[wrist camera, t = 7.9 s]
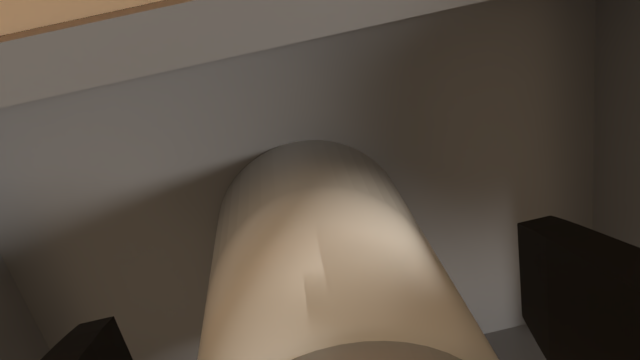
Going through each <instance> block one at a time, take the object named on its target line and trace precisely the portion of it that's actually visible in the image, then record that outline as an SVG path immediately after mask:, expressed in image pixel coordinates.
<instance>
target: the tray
mask: <svg viewBox="0 0 640 360" xmlns="http://www.w3.org/2000/svg"><path fill="white" fill-rule="evenodd" d="M306 140H324V141H331V142H337V143H340V144H344V145H347V146H350V147H352V148H355V149H357V150H359V151H361V152H362V153H364V154H366V155H367V156H369V157H370V158H371V159H373V160H374V161H375V162H376V163H378V164H379V165H380V166H381V168H382V169H383V170H384V171H385V172H386V173H387V175H388V176H389V178H390V179H391V180H392V182H393V184H394V185H395V187H396V189H397V190H398V192H399V194H400V195H401V197H402V199H403V200H404V202H405V204H406V205H407V207H408V209H409V210H410V212H411V214H412V215H413V217H414V219H415V220H416V222H417V224H418V225H419V227H420V229H421V230H422V232H423V234H424V235H425V237H426V239H427V240H428V242H429V244H430V245H431V247H432V249H433V250H434V252H435V254H436V255H437V257H438V259H439V260H440V262H441V264H442V265H443V267H444V269H445V270H446V272H447V274H448V275H449V277H450V279H451V280H452V282H453V284H454V285H455V287H456V289H457V290H458V292H459V294H460V295H461V297H462V299H463V300H464V302H465V304H466V305H467V307H468V309H469V310H470V312H471V314H472V315H473V317H474V319H475V320H476V322H477V324H478V325H479V327H480V329H481V330H482V332H483V334H484V335H485V337H486V339H487V340H488V342H489V344H490V345H491V347H492V349H493V350H494V352H495V354H496V355H497V357H498V359H499V360H546V358H545V356H544V355H543V353H542V351H541V350H540V348H539V346H538V344H537V343H536V341H535V339H534V337H533V335H532V333H531V332H530V330H529V328H528V326H527V324H526V322H525V321H524V319H523V317H522V306H521V287H520V268H519V249H518V230H517V223H520V222H524V221H529V220H533V219H537V218H542V217H546V216H550V215H551V216H555V217H558V218H561V219H564V220H567V221H570V222H573V223H576V224H579V225H581V226H584V227H587V228H589V229H592V230H595V231H597V232H600V233H603V234H605V235H608V236H610V237H613V238H616V239H618V240H621V241H623V242H626V243H629V244H631V245H634V246H637V247H639V248H640V0H164V1H159V2H155V3H150V4H146V5H141V6H136V7H132V8H127V9H123V10H118V11H113V12H109V13H104V14H100V15H95V16H90V17H86V18H81V19H77V20H72V21H67V22H63V23H58V24H54V25H49V26H44V27H40V28H35V29H31V30H26V31H21V32H17V33H12V34H8V35H3V36H0V360H40V359H42V358H43V357H44V356H45V355H46V354H47V353H48V352H49V351H50V350H51V349H52V348H53V347H54V346H55V345H56V344H57V343H58V342H59V341H60V340H61V339H62V338H63V337H65V336H66V335H67V334H68V333H69V332H70V331H71V330H73V329H74V328H75V327H76V326H77V325H79V324H81V323H86V322H90V321H94V320H99V319H103V318H107V317H112V316H114V318H115V320H116V322H117V325H118V327H119V329H120V331H121V334H122V336H123V338H124V341H125V343H126V345H127V347H128V350H129V352H130V354H131V356H132V359H133V360H197V359H198V352H199V346H200V339H201V332H202V325H203V319H204V312H205V305H206V299H207V292H208V285H209V278H210V272H211V265H212V258H213V252H214V245H215V238H216V231H217V225H218V218H219V212H220V208H221V204H222V201H223V198H224V196H225V194H226V192H227V190H228V188H229V186H230V185H231V183H232V182H233V180H234V179H235V178H236V176H237V175H238V174H239V173H240V172H241V171H242V170H243V169H244V168H245V167H246V166H247V165H248V164H249V163H250V162H252V161H253V160H254V159H256V158H257V157H259V156H260V155H262V154H264V153H266V152H267V151H269V150H271V149H274V148H276V147H279V146H282V145H284V144H289V143H293V142H297V141H306Z"/></svg>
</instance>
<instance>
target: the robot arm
mask: <svg viewBox="0 0 640 360" xmlns="http://www.w3.org/2000/svg"><path fill="white" fill-rule="evenodd" d="M517 230H518V249H519V268H520V287H521V306H522V317H523V319H524V321H525V322H526V324H527V326H528V328H529V330H530V332H531V333H532V335H533V337H534V339H535V341H536V343H537V344H538V346H539V348H540V350H541V351H542V353H543V355H544V356H545V358H546V360H640V248H639V247H637V246H634V245H631V244H629V243H626V242H623V241H621V240H618V239H616V238H613V237H610V236H608V235H605V234H603V233H600V232H597V231H595V230H592V229H589V228H587V227H584V226H581V225H579V224H576V223H573V222H570V221H567V220H564V219H561V218H558V217H555V216H551V215H550V216H546V217H542V218H537V219H533V220H529V221H524V222H520V223H517ZM40 360H133V359H132V356H131V354H130V352H129V350H128V347H127V345H126V343H125V341H124V338H123V336H122V334H121V331H120V329H119V327H118V325H117V322H116V320H115V318H114V316H112V317H107V318H103V319H99V320H94V321H90V322H86V323H81V324H79V325H77V326H76V327H75V328H74V329H73V330H71V331H70V332H69V333H68V334H67V335H66V336H65V337H63V338H62V339H61V340H60V341H59V342H58V343H57V344H56V345H55V346H54V347H53V348H52V349H51V350H50V351H49V352H48V353H47V354H46V355H45V356H44V357H43V358H42V359H40Z"/></svg>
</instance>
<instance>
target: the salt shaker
mask: <svg viewBox="0 0 640 360" xmlns="http://www.w3.org/2000/svg"><path fill="white" fill-rule="evenodd" d="M197 360H499V359H498V357H497V355H496V354H495V352H494V350H493V349H492V347H491V345H490V344H489V342H488V340H487V339H486V337H485V335H484V334H483V332H482V330H481V329H480V327H479V325H478V324H477V322H476V320H475V319H474V317H473V315H472V314H471V312H470V310H469V309H468V307H467V305H466V304H465V302H464V300H463V299H462V297H461V295H460V294H459V292H458V290H457V289H456V287H455V285H454V284H453V282H452V280H451V279H450V277H449V275H448V274H447V272H446V270H445V269H444V267H443V265H442V264H441V262H440V260H439V259H438V257H437V255H436V254H435V252H434V250H433V249H432V247H431V245H430V244H429V242H428V240H427V239H426V237H425V235H424V234H423V232H422V230H421V229H420V227H419V225H418V224H417V222H416V220H415V219H414V217H413V215H412V214H411V212H410V210H409V209H408V207H407V205H406V204H405V202H404V200H403V199H402V197H401V195H400V194H399V192H398V190H397V189H396V187H395V185H394V184H393V182H392V180H391V179H390V178H389V176H388V175H387V173H386V172H385V171H384V170H383V169H382V168H381V166H380V165H379V164H378V163H376V162H375V161H374V160H373V159H371V158H370V157H369V156H367V155H366V154H364V153H362V152H361V151H359V150H357V149H355V148H352V147H350V146H347V145H344V144H340V143H337V142H331V141H324V140H306V141H297V142H293V143H289V144H284V145H282V146H279V147H276V148H274V149H271V150H269V151H267V152H266V153H264V154H262V155H260V156H259V157H257V158H256V159H254V160H253V161H252V162H250V163H249V164H248V165H247V166H246V167H245V168H244V169H243V170H242V171H241V172H240V173H239V174H238V175H237V176H236V178H235V179H234V180H233V182H232V183H231V185H230V186H229V188H228V190H227V192H226V194H225V196H224V198H223V201H222V204H221V208H220V212H219V218H218V225H217V231H216V238H215V245H214V252H213V258H212V265H211V272H210V278H209V285H208V292H207V299H206V305H205V312H204V319H203V325H202V332H201V339H200V346H199V352H198V359H197Z"/></svg>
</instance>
